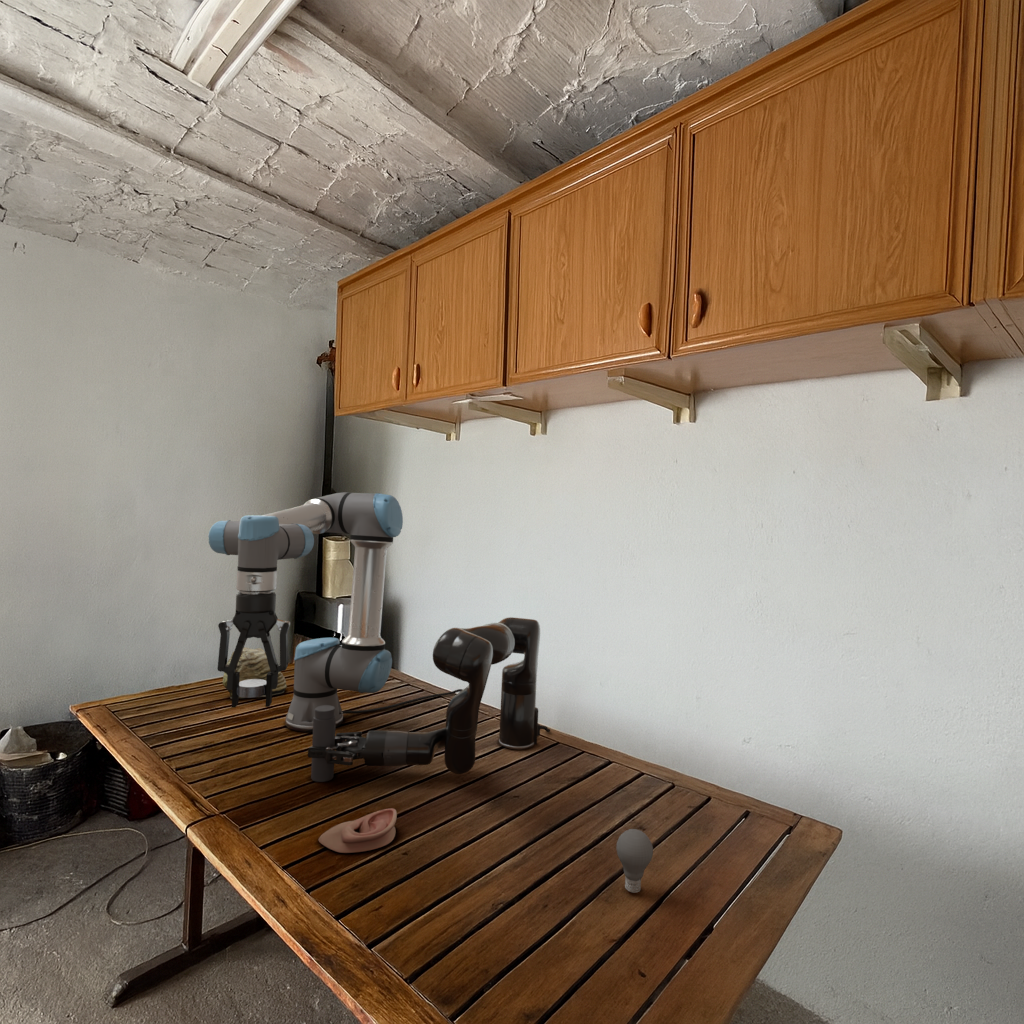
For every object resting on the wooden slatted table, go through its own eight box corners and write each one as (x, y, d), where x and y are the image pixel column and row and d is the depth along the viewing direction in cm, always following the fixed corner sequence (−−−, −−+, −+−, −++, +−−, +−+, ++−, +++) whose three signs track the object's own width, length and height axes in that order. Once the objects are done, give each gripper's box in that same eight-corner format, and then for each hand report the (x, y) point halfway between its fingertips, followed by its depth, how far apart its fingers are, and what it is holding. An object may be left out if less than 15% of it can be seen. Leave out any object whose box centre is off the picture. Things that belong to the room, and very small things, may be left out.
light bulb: (610, 879, 108) (613, 822, 108) (644, 879, 109) (647, 822, 109) (619, 902, 102) (622, 840, 102) (655, 901, 103) (658, 840, 103)
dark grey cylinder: (319, 771, 146) (321, 703, 146) (337, 774, 145) (340, 706, 144) (306, 779, 141) (309, 710, 141) (325, 783, 140) (328, 713, 140)
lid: (253, 699, 125) (253, 688, 125) (229, 695, 127) (230, 684, 127) (274, 691, 130) (274, 681, 130) (251, 687, 132) (251, 677, 132)
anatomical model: (310, 826, 114) (340, 797, 125) (309, 848, 114) (339, 817, 125) (379, 837, 111) (403, 806, 122) (378, 859, 111) (403, 827, 123)
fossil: (218, 695, 195) (220, 647, 195) (278, 685, 208) (279, 640, 207) (228, 703, 189) (230, 653, 188) (289, 692, 201) (290, 645, 201)
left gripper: (201, 593, 123) (196, 712, 123) (302, 594, 127) (297, 710, 127) (211, 588, 130) (207, 700, 131) (306, 589, 134) (302, 698, 134)
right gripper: (391, 720, 151) (319, 719, 150) (384, 744, 137) (303, 742, 135) (390, 751, 151) (317, 751, 150) (383, 778, 137) (302, 777, 136)
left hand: (251, 704), depth 129 cm, fingers closed on lid, 6 cm apart
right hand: (311, 747), depth 143 cm, fingers closed on dark grey cylinder, 5 cm apart
